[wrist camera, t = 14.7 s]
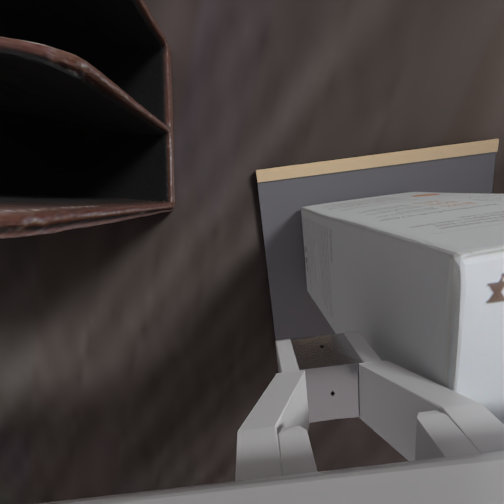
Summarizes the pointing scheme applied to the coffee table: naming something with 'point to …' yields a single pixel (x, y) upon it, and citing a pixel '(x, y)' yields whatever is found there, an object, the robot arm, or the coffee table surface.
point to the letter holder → (83, 115)
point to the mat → (341, 189)
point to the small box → (416, 283)
